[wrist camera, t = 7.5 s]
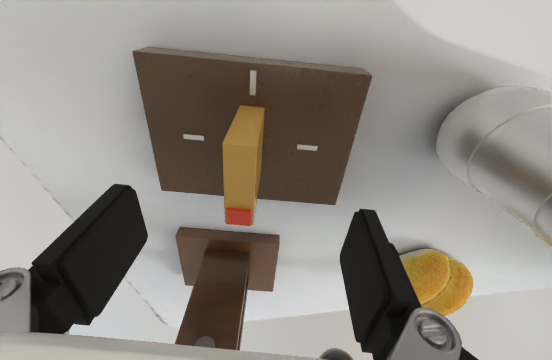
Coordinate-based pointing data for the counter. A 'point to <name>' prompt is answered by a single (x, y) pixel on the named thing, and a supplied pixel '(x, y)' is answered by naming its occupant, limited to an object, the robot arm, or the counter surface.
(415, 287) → the bread roll
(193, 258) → the handle bracket
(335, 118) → the plate
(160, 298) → the counter surface
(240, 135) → the lock knob
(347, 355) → the door lever
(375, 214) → the robot arm
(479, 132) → the plastic bottle
